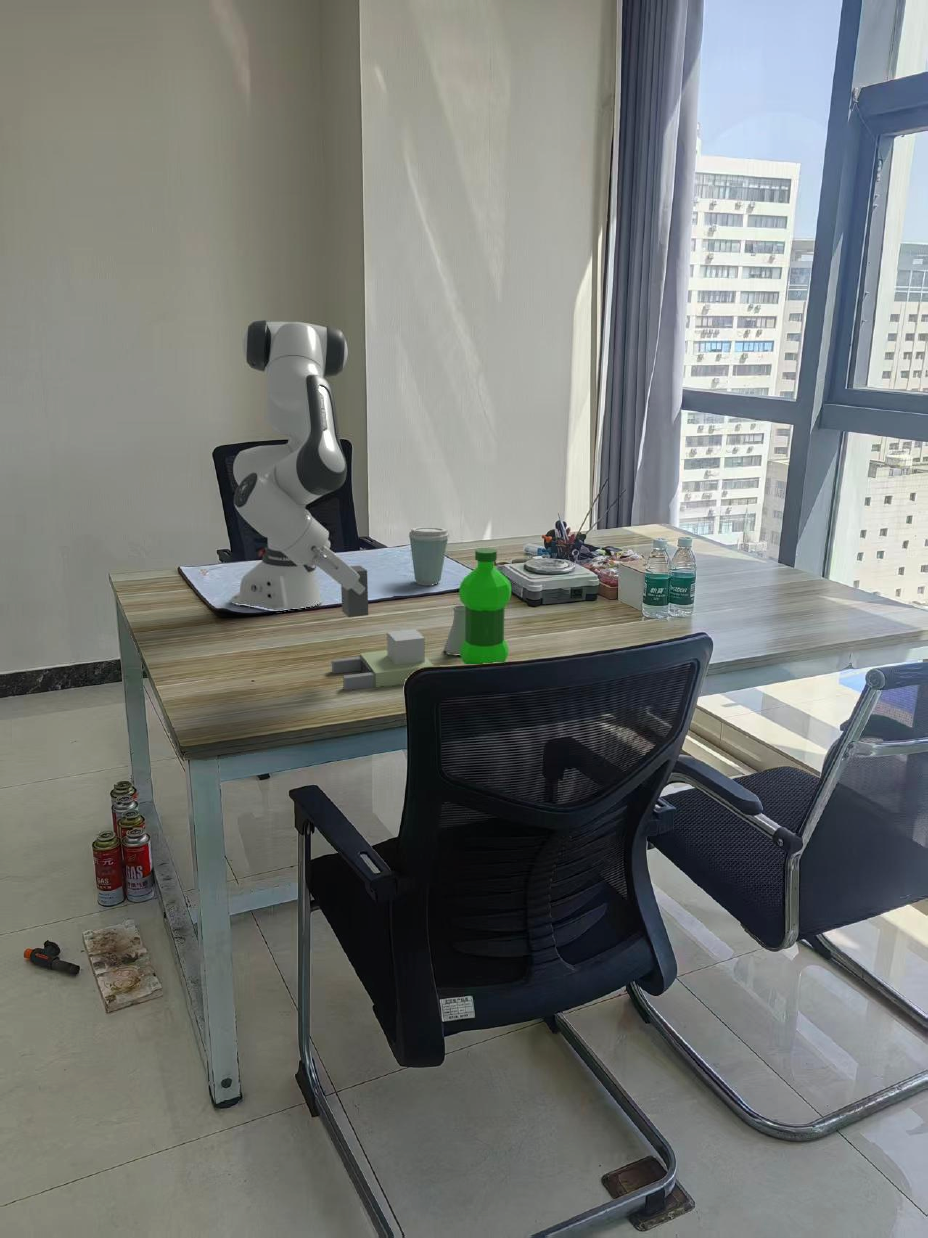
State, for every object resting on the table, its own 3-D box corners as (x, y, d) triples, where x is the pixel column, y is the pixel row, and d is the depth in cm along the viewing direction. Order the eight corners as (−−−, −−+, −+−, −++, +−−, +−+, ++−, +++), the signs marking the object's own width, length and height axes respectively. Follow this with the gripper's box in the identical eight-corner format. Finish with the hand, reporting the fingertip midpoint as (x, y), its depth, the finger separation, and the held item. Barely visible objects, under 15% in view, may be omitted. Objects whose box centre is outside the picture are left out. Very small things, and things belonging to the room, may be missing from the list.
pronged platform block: (345, 691, 189) (344, 652, 187) (331, 670, 200) (330, 633, 198) (434, 680, 195) (434, 642, 193) (415, 660, 206) (415, 624, 204)
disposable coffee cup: (407, 577, 267) (407, 523, 263) (447, 577, 269) (447, 523, 264) (410, 588, 257) (409, 532, 253) (451, 587, 259) (451, 531, 254)
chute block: (348, 617, 192) (347, 572, 189) (342, 611, 196) (340, 567, 193) (368, 615, 193) (367, 570, 191) (361, 609, 197) (360, 565, 195)
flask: (442, 646, 215) (442, 602, 212) (475, 645, 215) (475, 601, 212) (444, 657, 208) (444, 612, 205) (478, 656, 209) (478, 611, 206)
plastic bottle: (455, 676, 197) (456, 555, 190) (464, 659, 207) (465, 543, 199) (505, 680, 196) (507, 558, 188) (511, 662, 205) (514, 545, 198)
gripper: (332, 540, 178) (385, 587, 184) (304, 521, 196) (352, 564, 202) (309, 567, 177) (362, 613, 184) (282, 544, 195) (332, 587, 202)
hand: (357, 587), depth 193 cm, fingers closed on chute block, 4 cm apart
